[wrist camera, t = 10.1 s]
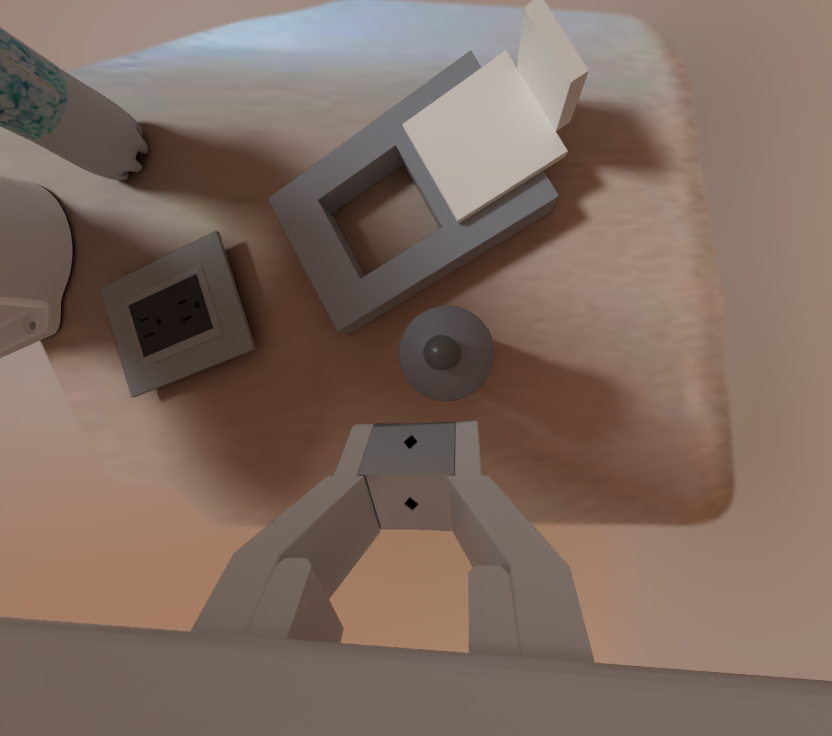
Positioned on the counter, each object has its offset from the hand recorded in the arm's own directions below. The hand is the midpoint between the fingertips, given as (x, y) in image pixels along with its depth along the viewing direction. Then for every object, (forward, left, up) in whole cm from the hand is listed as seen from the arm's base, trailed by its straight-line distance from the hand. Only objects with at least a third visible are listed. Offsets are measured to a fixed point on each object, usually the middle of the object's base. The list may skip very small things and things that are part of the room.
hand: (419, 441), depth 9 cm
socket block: (+3, +14, -19) cm, 24 cm away
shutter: (+10, +14, -16) cm, 24 cm away
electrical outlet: (-19, +17, -19) cm, 32 cm away
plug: (+1, +2, -19) cm, 19 cm away
